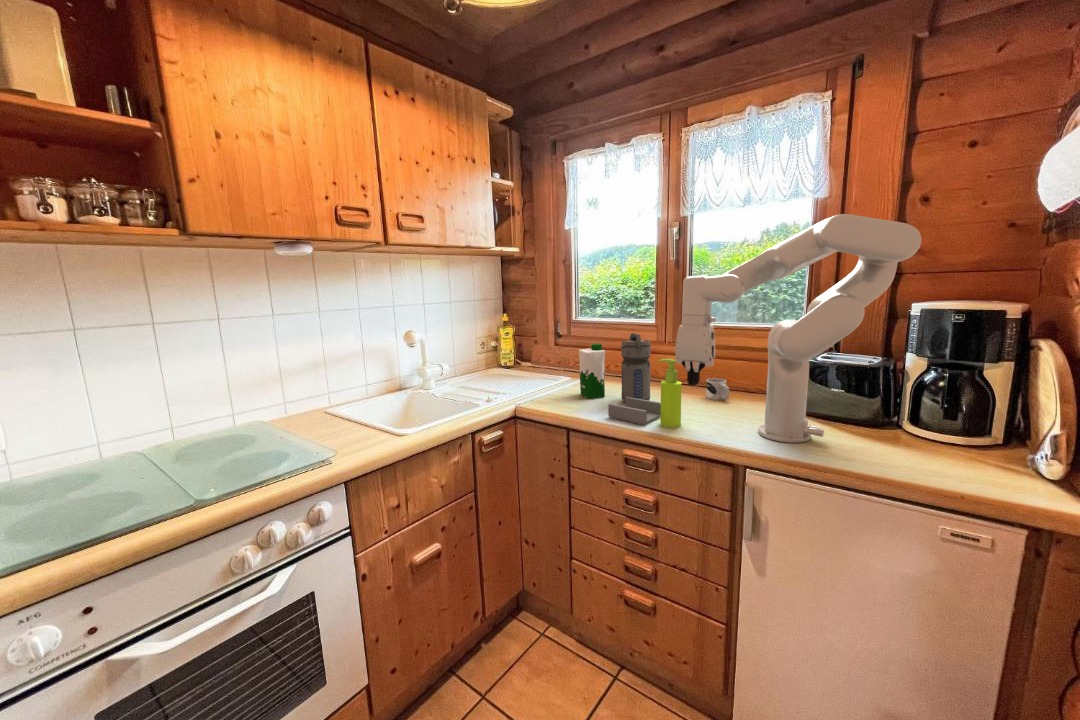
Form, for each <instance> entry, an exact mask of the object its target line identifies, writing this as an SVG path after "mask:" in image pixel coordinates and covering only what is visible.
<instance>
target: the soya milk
mask: <svg viewBox="0 0 1080 720" xmlns="http://www.w3.org/2000/svg"><path fill="white" fill-rule="evenodd" d="M590 347H591V348H583V349H578V355H579V356H578V358H579V385H580V386H579V387H580V396H582V397H584V398H585V399H587V400H590V399H591V400H592V399H598V398H605V397H606V395H605V394H606V393H605V390H606V389H605V386H606V385H605V356H606V350H604V349H603V344H602V343H591V346H590Z"/></svg>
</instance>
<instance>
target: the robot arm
mask: <svg viewBox="0 0 1080 720" xmlns="http://www.w3.org/2000/svg"><path fill="white" fill-rule="evenodd" d="M921 235H922V234H921V233H920V231H919V230H918V229H917V227H915V226H914V225H911V224H909V223H904V222H900V221H894V220H889V219H888V220H887V219H881V218H875V217H869V216H863V215H856V214H849V213H840V214H835V215H833V216H831V217H828V218H825V219H823V220H821V221H819V222H817V223H815V224H814V225H812V226H810V227H807V228H806V229H804V230H802V231H800V232H798V233H796V234H794V235H792V236H790V237H789V238H787V239H785V240H783V241H781V242H778V243H777V244H775V245H773V246H772V247H770V248H768V249H766V250H765V251H763V252H762V253H760V254H758V255H757V256H755V257H753V258H751V259H749V260H748V261H745V262H743V263H742V264H740V265H738V266H736V267H735V268H732V269H730V270H728V271H727V272H725V273H723V274H721V275H715V276H709V275H690V276H686V277H685V278H683V282H682V305H681V324H680V325H679V326H678V329H677V333H676V340H675V349H674V350H675V351H674V354H675V359H674V360H675V362H676V363H677V364H680V365H682V366H683V367H684V368H685V370H686V372H687V375H686V377H687V379H686V380H687V383H688V386H692V387H693V386H694V387H695V386H697V385H699V383H700V380H701V377H700V376H701V374H700V373H701V371H702V370H703V369H705V368H706V367H707V368H708V367H713V366H714V365H715V362H714V359H715V358H716V336H715V328H714V325H711V324H712V323H716V321H717V320H716V319H717V318H716V316H715V317H714V316H712V314H711V313H712V312H711V311H712V302H715V303H716V302H717V303H724V304H725V303H726V304H730V303H734V302H736V301H738V300H739V299H740V298H742V296H743V294H744V293H746V292H748V291H751V290H752V289H754V288H757V287H759V286H761V285H764V284H766V283H768V282H772V281H776V280H780V279H783V278H785V277H789V276H791V275H793V274H795V273H796V272H799V271H801V270H803V269H805V268H807V267H808V266H811V265H813V264H815V263H816V262H819V261H821V260H823V259H824V258H827V257H828V256H829V257H830V256H831V255H833V254H835V253H838V252H839V253H845V254H849V255H853V256H856V257H857V256H858V261H857V264H856V265H855V267H854V269H853V270H852V271H850V273H848V275H846V276H845V277H844V278H842V279H841V280H840V281H838V282H837V283H835V284H834V285H833V286H831V287H830V288H828V289H827V290H826V291H824V292H823V293H821V294H820V295H818V296H816V297H815V298H814V299H813V300H812V301H811V302H810V303H809V305H808V307H807V309H806V314H805V315H803V316H802V317H800V318H799V319H798V320H796V319H784V320H781V321H779V322H776V323H775V324H774V326H773V327H772V328H771V329H770V331H769V333H768V337H767V354H768V355H767V363H768V364H767V379H766V394H765V395H766V398H765V411H764V413H765V414H764V424H762V425H759V426H758V428H757V432H758V434H759V435H760V436H761V437H763V438H765V439H769V440H772V441H777V442H781V443H789V444H790V443H793V444H798V443H805V442H808V441H810V440H811V439H812V435H814V436H815V437H821V438H822V437H824V434H825V430H824V429H822V428H821V427H820V426H816V425H811V424H809V419H806V416H807V415H806V414H807V404H808V403H807V402H808V387H809V377H810V360H811V359H814V358H815V357H817V356H819V355H820V354H822V353H823V352H825V351H826V350H828V349H829V348H831V347H832V346H833V345H835V344H836V343H838V342H840V341H841V340H843V339H844V338H846V337H848V335H850V334H851V333H852V332H854V331H855V330H856V329H857V328H858V327H859V326H860V325H861V324H862V322H863V321H864V318H865V313H866V311H865V310H866V309H865V308H866V307H867V306H868V305H870V304H872V302H874V301H875V300H876V299H877V298H879V297H881V295H883V294H884V293H885V292H886V291H887V290H888V289H889V288H890V286H891V285H892V283H893V282H894V279H895V276H896V272H897V268H898V263H899V262H900V263H901V262H903V261H905V260H908V259H910V258H911V257H913V256H914V255H915V254H916V253H917V252H918V251H919V249H920V248H921V244H922V236H921Z"/></svg>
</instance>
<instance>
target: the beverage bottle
mask: <svg viewBox="0 0 1080 720" xmlns="http://www.w3.org/2000/svg"><path fill="white" fill-rule="evenodd" d="M651 347H652V346H651V339H648V340H642V339H641V334H637V333H635V332H634V333H633V332H632V333H630V335H629V340H622V341H621V348H620V349H621V352H620V353H621V355H620V356H621V357H622V358H623V360H622V361H621V363H620V364H621V365H620V366H621V400H622V401H623V402H624V403H625V397H632V398H637V399H643V400H649V401H651V364H652V363H651V361H650V360H649V359H650V357H651V350H652V349H651Z"/></svg>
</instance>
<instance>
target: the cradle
mask: <svg viewBox="0 0 1080 720" xmlns="http://www.w3.org/2000/svg"><path fill="white" fill-rule="evenodd" d="M607 405H608V406H607V407H608V411H607V413H608V417H609V419H615V420H620V421H623V422H624V421H625V422H629V423H632V424H633V423H634V424H638V425H643V426H647V425H649V424H650V423H652V422H655V421H656V420H658V419H661V401H655V400H643V399H637V398H632V397H625V402H624V405H620V404H614V403H609V404H607Z"/></svg>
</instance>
